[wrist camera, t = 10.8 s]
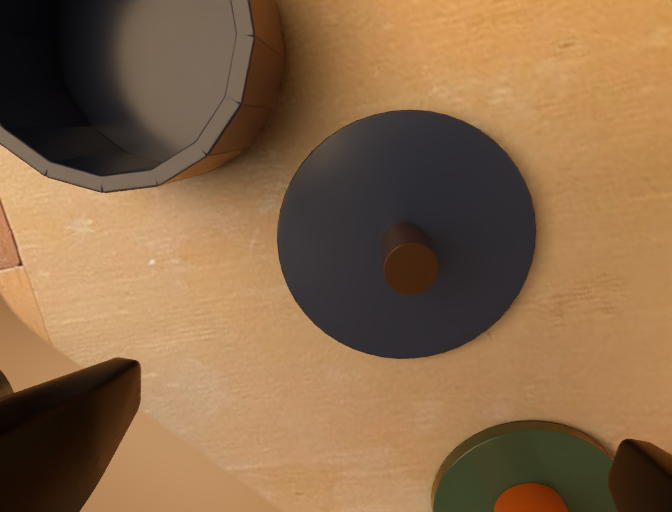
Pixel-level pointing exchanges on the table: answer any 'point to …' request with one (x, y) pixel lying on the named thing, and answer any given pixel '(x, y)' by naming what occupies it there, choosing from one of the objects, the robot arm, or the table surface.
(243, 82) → the pot
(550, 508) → the carrot
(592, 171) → the table surface
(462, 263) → the lid
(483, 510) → the saucer
